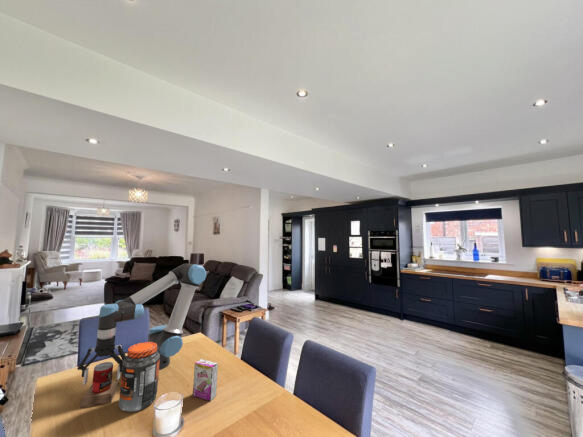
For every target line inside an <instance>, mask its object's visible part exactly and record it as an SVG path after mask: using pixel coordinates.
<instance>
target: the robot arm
mask: <svg viewBox="0 0 583 437" xmlns="http://www.w3.org/2000/svg"><path fill="white" fill-rule="evenodd" d="M206 278H207V271H206V269H205V267H204V266H202V265H199V264H196V263H195V264H193V263H190V262H189V263H188V262H187V263H183V264H181V265H179V266H177V267H176V268H173V269H172V270H170V271H169V272H168V274H166V275H165V276H163V277H161V278H159V279H158V280H156V281H154V282H152V283H151V284H150V285H147V286H146V287H144V288H142V289H141V290H139V291H137V292H136V293H134V294H131V295H130V296H129V297H126V298H125V299H120V300H117V301H115V303H109V304H108V303H107V304H103V305H102V306H100V309H99V313H98V314H99V315H98V323H97V324H98V326H97V334H96V335H97V336H96V337H97V338H96V343H95V344H96V345H95V347H92V346H91V347H89V348H88V349H87V352H86V355H85V356H84V358H83V359H82V361H81V362H80V364H79V365H78V367H77V370H78V371H81V378H83V381H82V385H83V386H85V385H86V384H87V383H88V380H89V366H90V365H91V364H92V363H93V362H94V361H95V360H96V359H97V358H98V357H99V358H103V357H108V356H109V357H110V358H112V359H113V360H114V361H115V362H116V363H117V364H118V365H117V371H116V381H119V380H120V379H121V373H122V364H123V361H124V359H125V357H126V356H127V355H126V354H125V350H124V348H123V344H122V343H120V344H118V345H116V334H117V324H119V323H123V322H129V321H132V320H139V319H141V318H143V316H144V312H145V309H144V305H143V304H145V303H146V302H148V301H149V300H150V299H152V298H154V297H156V296H157V295H159V294H160V293H162V292H163V291H165V290H167V289H169V288H170V287H172V286H174V285H178V284H179V283H180V286H181V287H180V290H179V293H178V295H177V298H176V301H175V304H174V306H173V309H172V312H171V315H170V318H169V320H168V323H167V325H166V324H164V325H162V324H161V325H157V326H156V325H155V326H153V327H151V328H150V329H149V330H148V334H147V342H154V343H156V344H157V351H158V352H159V354H160V362H159V371H160V370H162V369H164V368H167V367H168V366H169V365H170V364H171V357H174V356H176V354H178V353H179V352H180V351H181V349H182V348H183V344H184V341H183V338H182V337H183V334H184V330H183V326H184V323H185V320H186V317H187V315H188V312H189V309H190V306H191V303H192V301H193V298H194V295H195V292H196V290H197V289H199V288H200V285H201V284H202V283H203V282H204V281H205V280H206ZM115 349H116V351H117V352H118V354H119V355H118V354H117V353H116V351H114V350H115ZM94 352H95V355H93V357H92V358H91V359H90V360H89V361H88V362H87V360H88V359H89V357H90V355H92V353H94ZM86 362H87V363H86ZM85 363H86V364H85Z"/></svg>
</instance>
